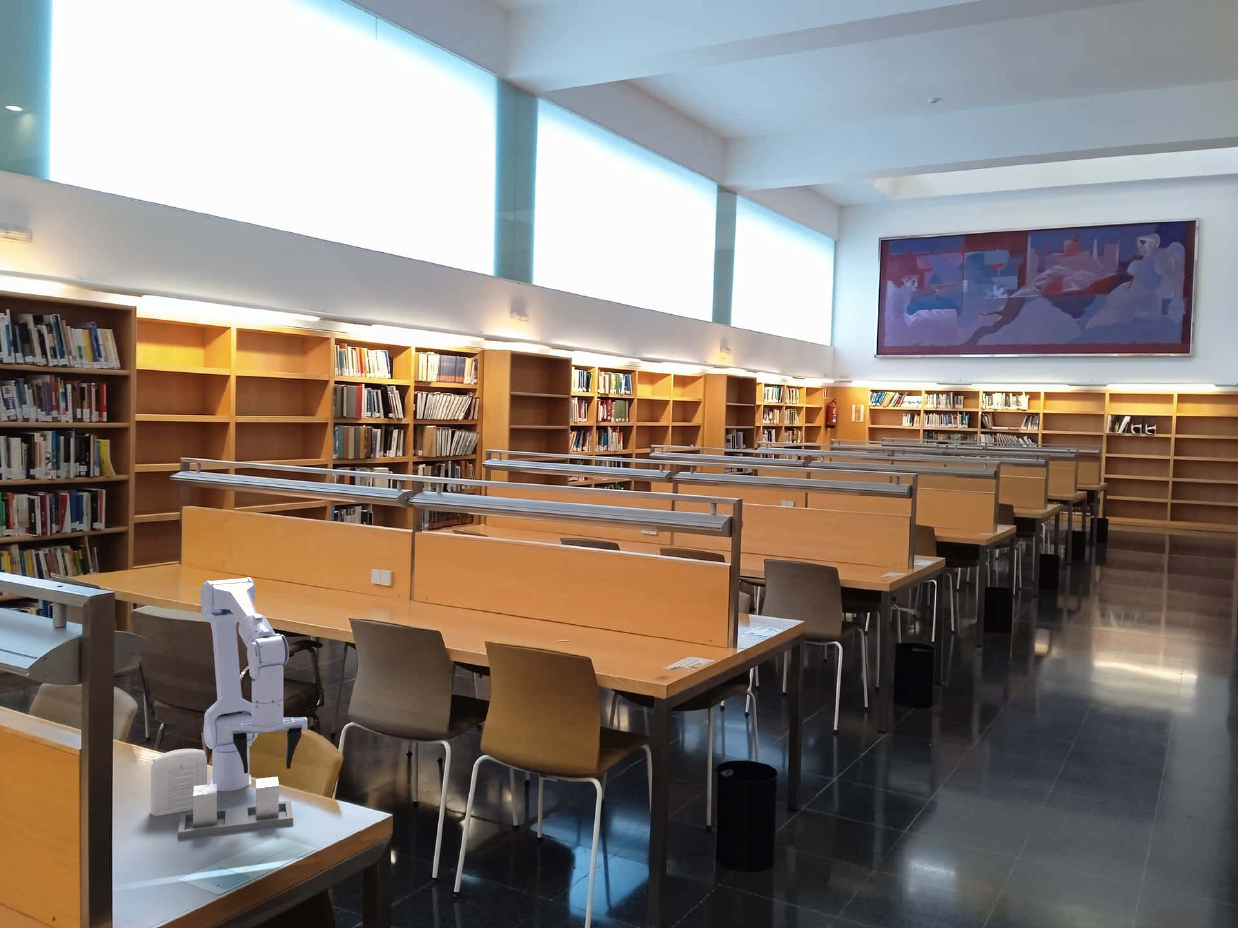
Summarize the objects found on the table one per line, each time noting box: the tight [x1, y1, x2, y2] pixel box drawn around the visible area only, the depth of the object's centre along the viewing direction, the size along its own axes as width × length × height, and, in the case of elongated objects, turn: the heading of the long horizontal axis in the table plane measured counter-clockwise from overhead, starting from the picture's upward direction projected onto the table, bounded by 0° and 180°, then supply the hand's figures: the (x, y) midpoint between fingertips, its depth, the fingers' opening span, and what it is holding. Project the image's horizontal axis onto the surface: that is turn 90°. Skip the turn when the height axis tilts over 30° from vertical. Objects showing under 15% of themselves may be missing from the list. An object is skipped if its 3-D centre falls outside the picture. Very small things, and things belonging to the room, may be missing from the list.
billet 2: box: [255, 776, 280, 820], centre depth 187 cm, size 5×4×7 cm
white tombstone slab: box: [149, 748, 208, 817], centre depth 191 cm, size 10×4×12 cm, turn 123°
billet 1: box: [192, 783, 218, 828], centre depth 183 cm, size 5×4×7 cm
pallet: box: [177, 800, 294, 840], centre depth 185 cm, size 9×20×2 cm, turn 112°
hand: (267, 769), depth 187 cm, fingers open, 7 cm apart
